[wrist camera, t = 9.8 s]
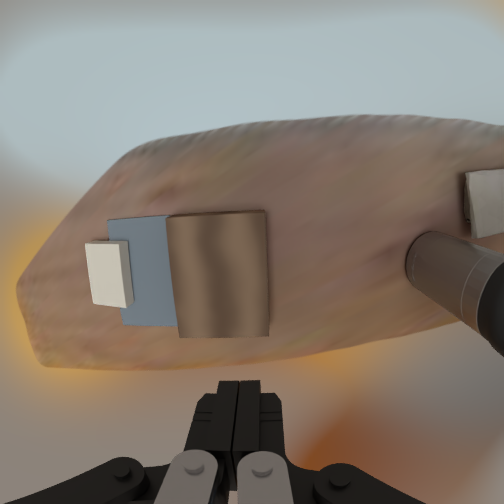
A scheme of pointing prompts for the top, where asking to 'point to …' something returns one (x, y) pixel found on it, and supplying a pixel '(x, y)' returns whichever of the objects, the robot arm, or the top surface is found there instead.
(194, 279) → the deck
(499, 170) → the packaged product
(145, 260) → the mat
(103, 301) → the cream thick tile
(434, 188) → the top surface
